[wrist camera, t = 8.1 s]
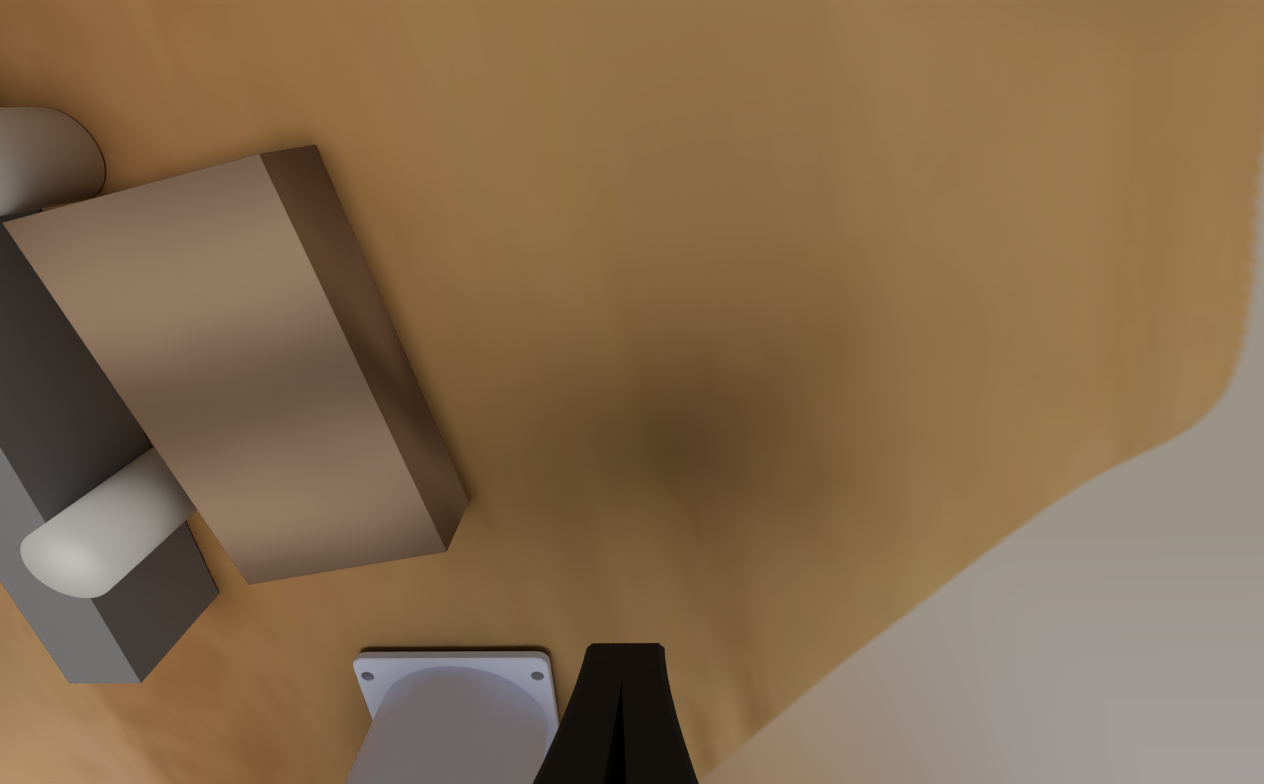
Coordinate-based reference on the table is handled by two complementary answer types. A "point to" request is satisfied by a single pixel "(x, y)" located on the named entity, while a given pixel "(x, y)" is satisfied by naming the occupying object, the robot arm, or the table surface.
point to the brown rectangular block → (257, 361)
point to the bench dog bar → (79, 453)
